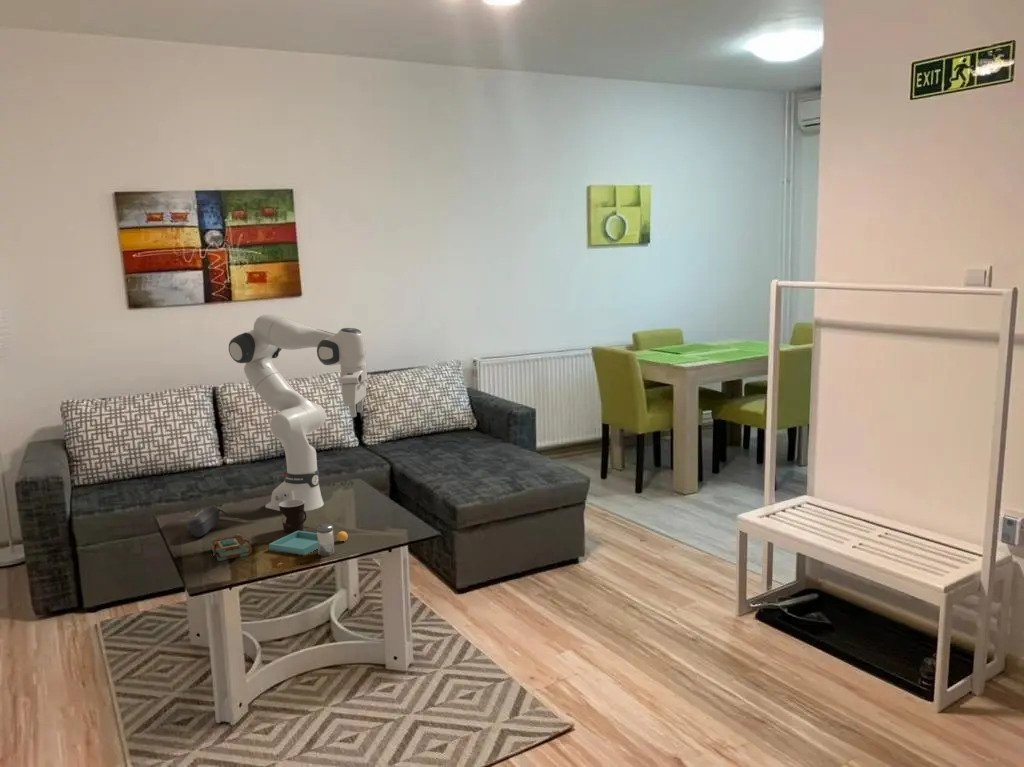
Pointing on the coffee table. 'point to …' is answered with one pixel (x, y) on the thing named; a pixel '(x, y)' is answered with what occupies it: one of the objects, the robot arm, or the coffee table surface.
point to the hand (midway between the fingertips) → (356, 414)
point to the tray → (296, 543)
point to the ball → (342, 536)
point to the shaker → (325, 539)
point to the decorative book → (230, 547)
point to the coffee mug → (292, 515)
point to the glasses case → (204, 521)
